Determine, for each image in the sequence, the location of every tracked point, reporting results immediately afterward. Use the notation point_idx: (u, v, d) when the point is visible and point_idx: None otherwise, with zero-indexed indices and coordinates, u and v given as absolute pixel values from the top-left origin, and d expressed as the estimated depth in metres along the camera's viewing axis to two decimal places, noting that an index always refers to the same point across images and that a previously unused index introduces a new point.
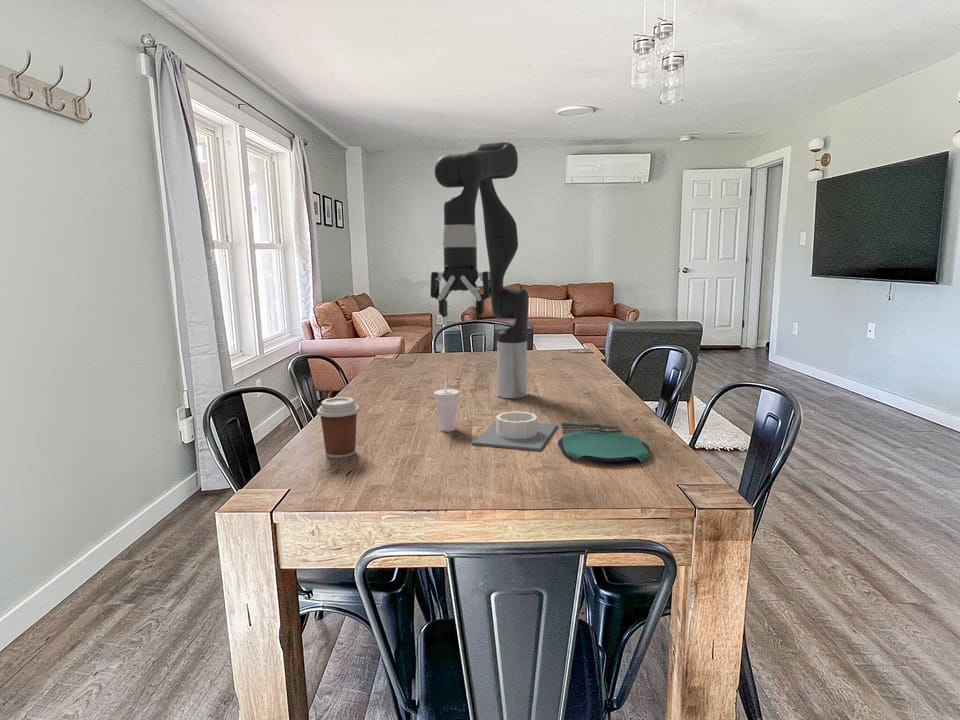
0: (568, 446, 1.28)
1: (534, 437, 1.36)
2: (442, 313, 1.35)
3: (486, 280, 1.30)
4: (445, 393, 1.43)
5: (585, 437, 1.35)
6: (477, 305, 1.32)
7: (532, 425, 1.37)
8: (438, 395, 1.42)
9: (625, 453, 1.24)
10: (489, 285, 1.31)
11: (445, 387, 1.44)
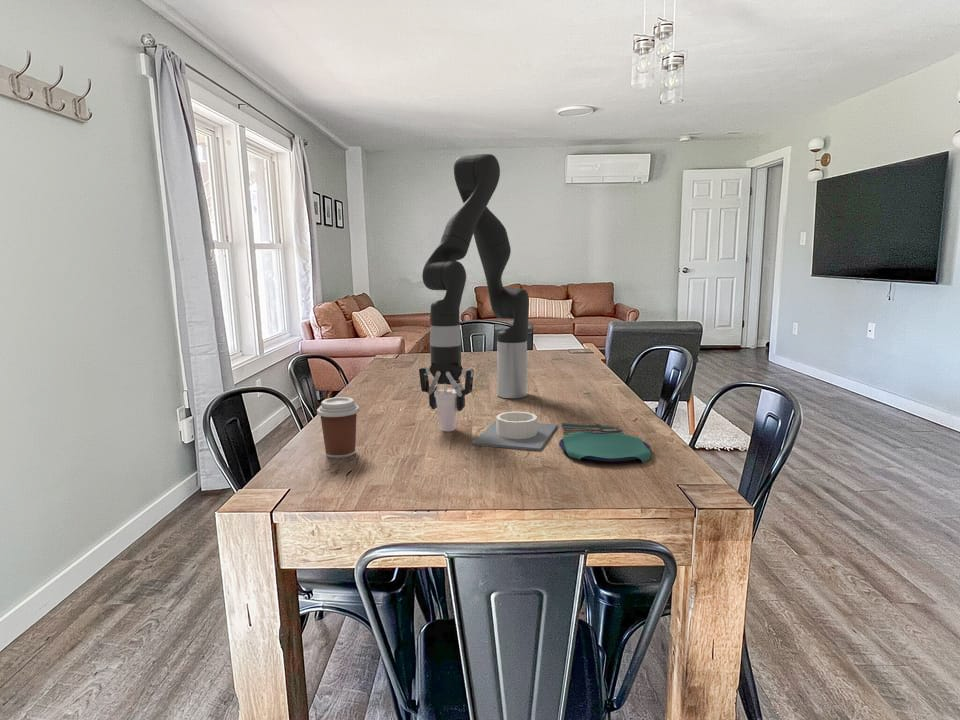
0: (569, 446, 1.28)
1: (534, 437, 1.36)
2: (432, 406, 1.45)
3: (468, 379, 1.41)
4: (445, 393, 1.43)
5: (586, 437, 1.35)
6: (458, 400, 1.43)
7: (532, 425, 1.37)
8: (438, 395, 1.42)
9: (627, 453, 1.24)
10: (470, 383, 1.42)
11: (445, 387, 1.44)
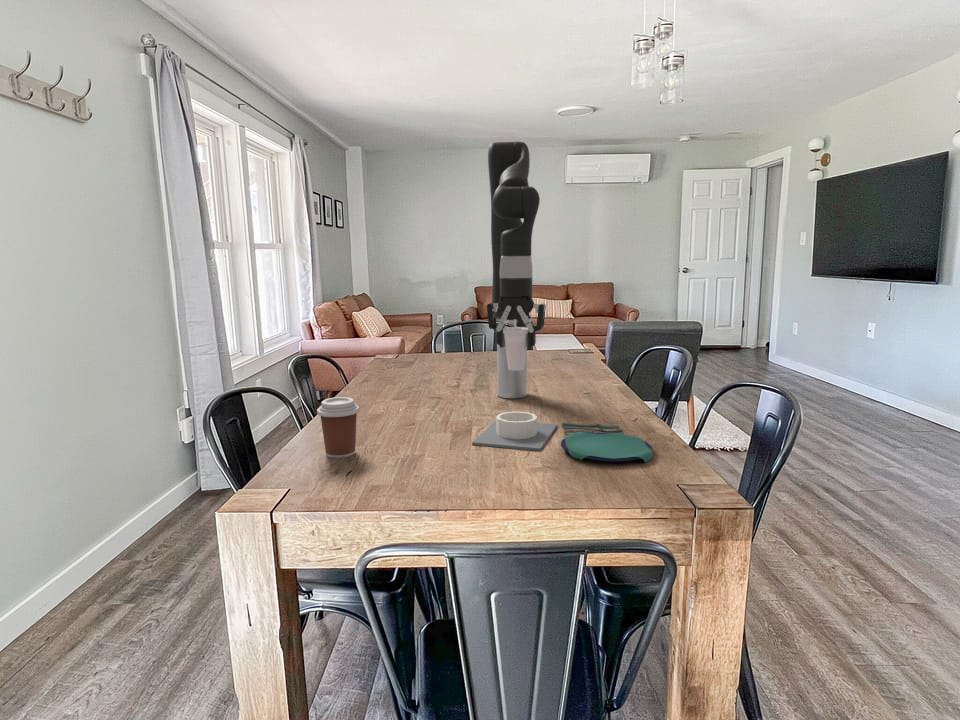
0: (571, 446, 1.28)
1: (534, 437, 1.36)
2: (500, 344, 1.37)
3: (541, 313, 1.32)
4: (515, 329, 1.34)
5: (587, 437, 1.35)
6: (529, 337, 1.34)
7: (532, 425, 1.37)
8: (508, 331, 1.34)
9: (629, 453, 1.24)
10: (543, 318, 1.34)
11: (515, 323, 1.35)
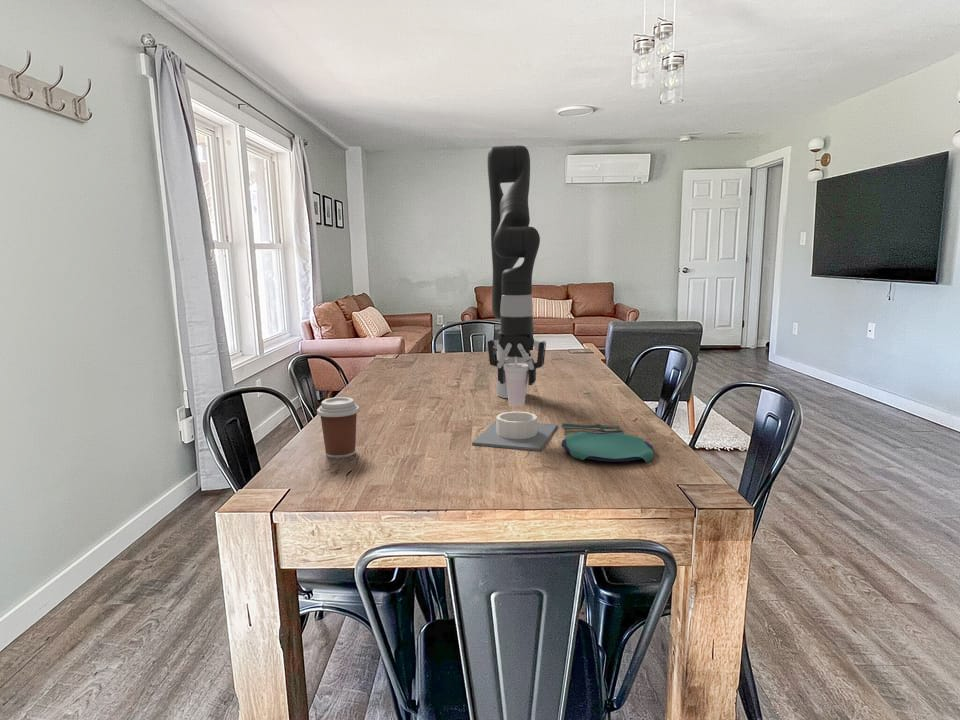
0: (572, 447, 1.28)
1: (534, 437, 1.36)
2: (501, 380, 1.38)
3: (541, 351, 1.34)
4: (516, 366, 1.36)
5: (588, 437, 1.35)
6: (530, 374, 1.36)
7: (532, 425, 1.37)
8: (509, 368, 1.35)
9: (630, 453, 1.24)
10: (543, 355, 1.35)
11: (515, 360, 1.37)
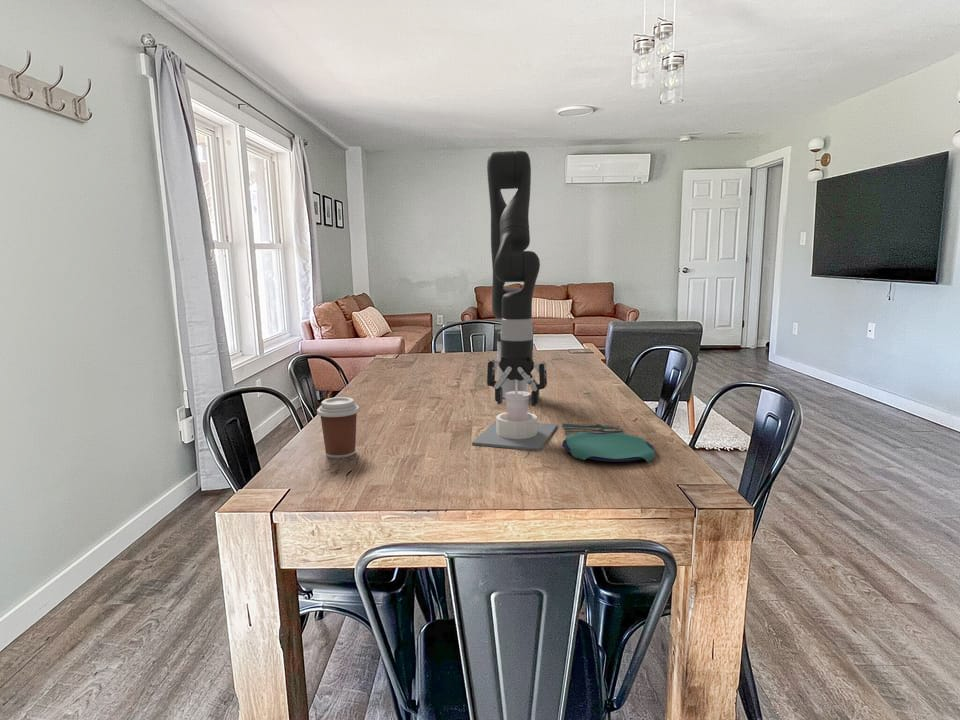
0: (573, 447, 1.28)
1: (534, 437, 1.36)
2: (498, 401, 1.39)
3: (542, 372, 1.35)
4: (517, 395, 1.37)
5: (588, 438, 1.35)
6: (533, 395, 1.36)
7: (532, 425, 1.37)
8: (509, 397, 1.37)
9: (631, 453, 1.24)
10: (545, 376, 1.36)
11: (516, 389, 1.38)
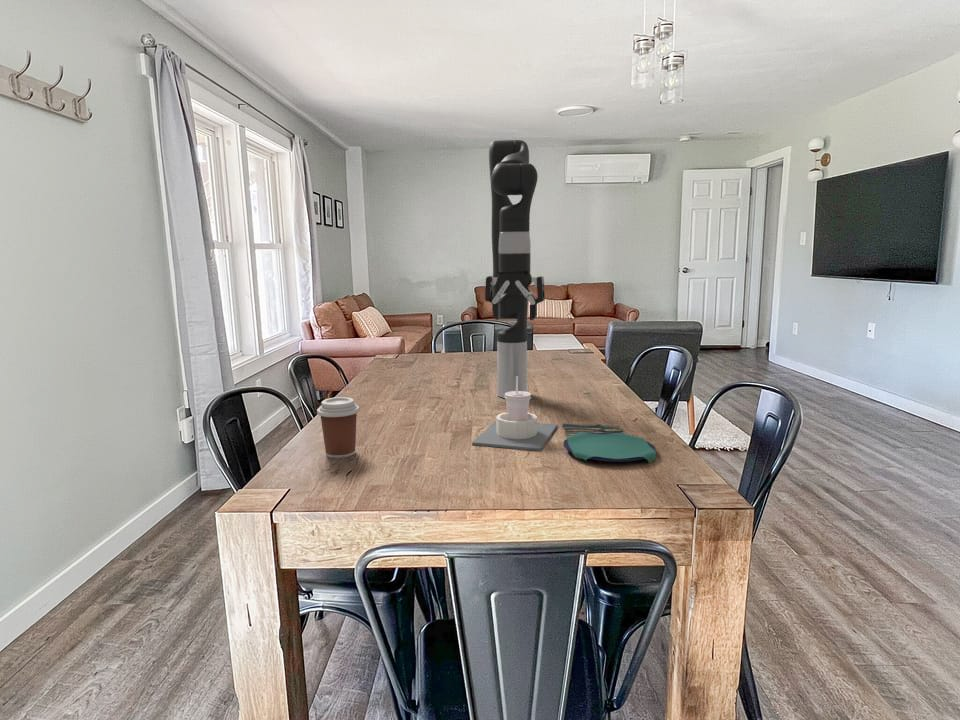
0: (574, 447, 1.27)
1: (534, 437, 1.36)
2: (496, 316, 1.41)
3: (540, 285, 1.36)
4: (517, 395, 1.37)
5: (589, 438, 1.35)
6: (531, 309, 1.38)
7: (532, 425, 1.37)
8: (510, 397, 1.37)
9: (632, 453, 1.24)
10: (543, 290, 1.37)
11: (517, 389, 1.38)
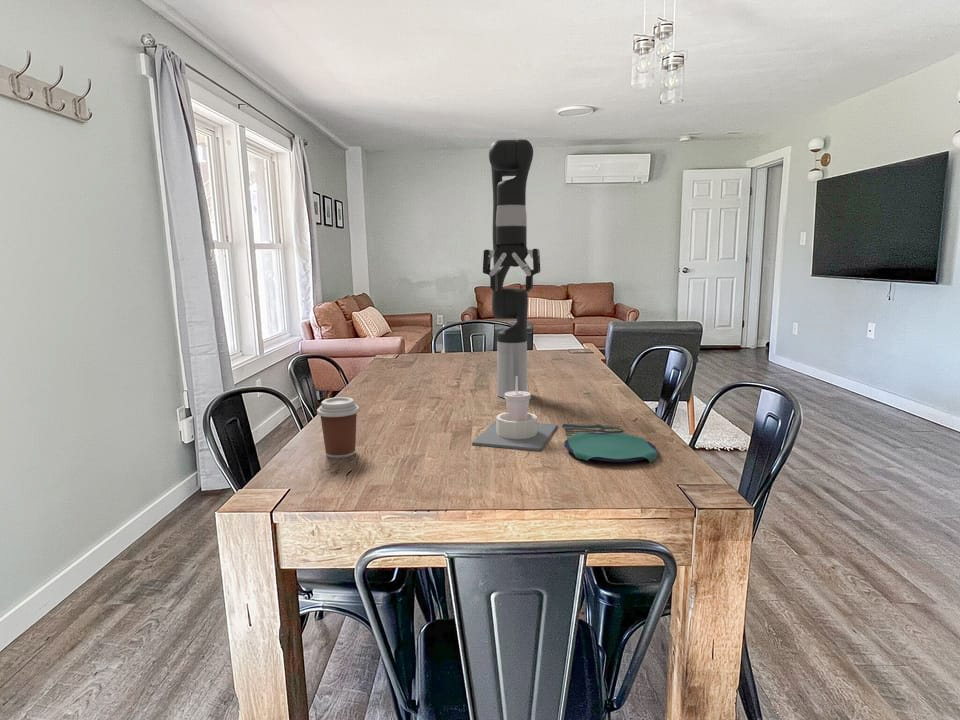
0: (575, 447, 1.27)
1: (534, 437, 1.36)
2: (493, 288, 1.46)
3: (536, 256, 1.41)
4: (517, 395, 1.37)
5: (589, 438, 1.35)
6: (527, 280, 1.43)
7: (532, 425, 1.37)
8: (510, 397, 1.37)
9: (633, 453, 1.24)
10: (538, 261, 1.42)
11: (516, 389, 1.38)
